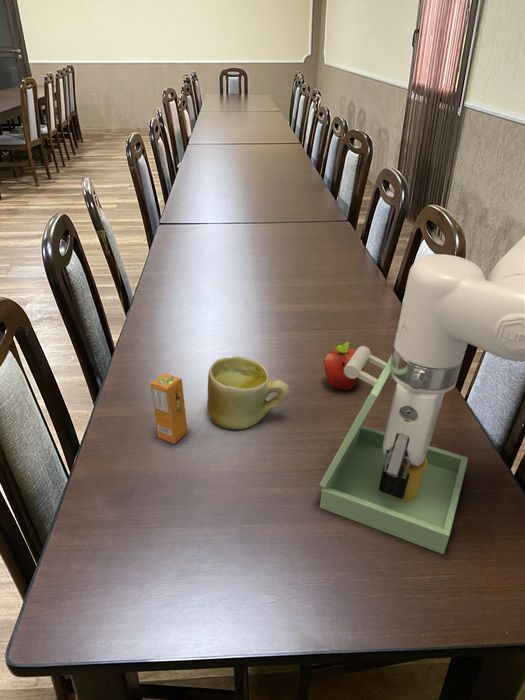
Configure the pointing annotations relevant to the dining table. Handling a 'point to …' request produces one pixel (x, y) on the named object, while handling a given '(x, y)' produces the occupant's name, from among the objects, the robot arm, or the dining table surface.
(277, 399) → the mug
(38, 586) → the dining table surface
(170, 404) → the supplement box
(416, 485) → the cup
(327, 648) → the dining table surface
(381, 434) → the green tray box
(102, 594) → the dining table surface
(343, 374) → the apple
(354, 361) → the lid
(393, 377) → the robot arm
